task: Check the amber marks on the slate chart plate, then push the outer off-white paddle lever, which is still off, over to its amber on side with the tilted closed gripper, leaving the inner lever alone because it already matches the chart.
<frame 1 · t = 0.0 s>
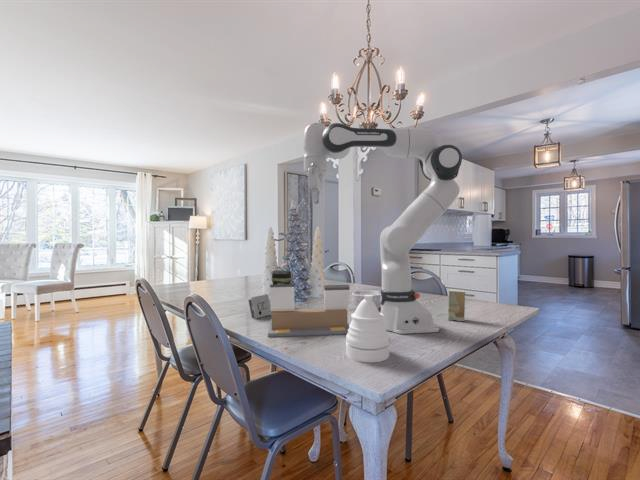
hand: (315, 202, 128), 48 cm above the table, tool pointing down, fingers open, 8 cm apart
electrical switch: (259, 316, 145), on the table
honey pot: (367, 354, 99), on the table
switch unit: (309, 329, 125), on the table
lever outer: (282, 297, 125), point 12 cm above the table, hinge at -20.0°
coffee jar: (282, 308, 160), on the table
skincare box: (456, 320, 136), on the table
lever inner: (336, 297, 123), point 12 cm above the table, hinge at 20.0°
clear glass bowl: (367, 309, 157), on the table
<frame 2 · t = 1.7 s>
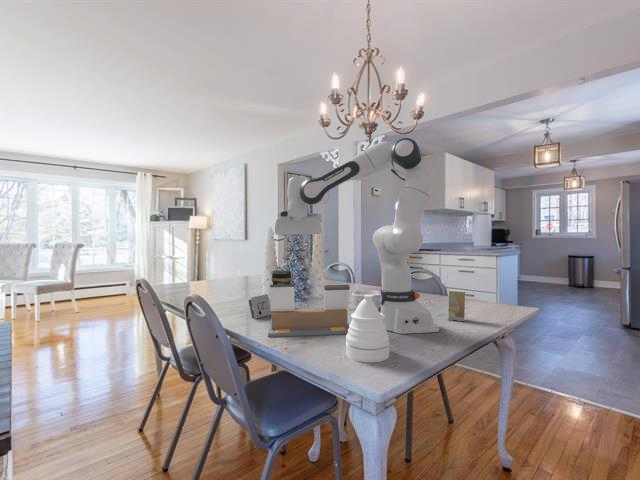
hand: (298, 244, 145), 31 cm above the table, tool pointing down, fingers open, 3 cm apart
nothing on the table moved.
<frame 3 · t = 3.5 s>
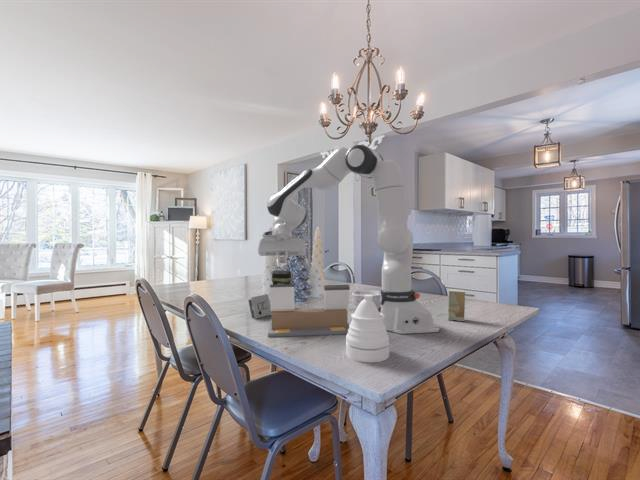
hand: (282, 261, 138), 24 cm above the table, tool tilted 45°, fingers closed
nothing on the table moved.
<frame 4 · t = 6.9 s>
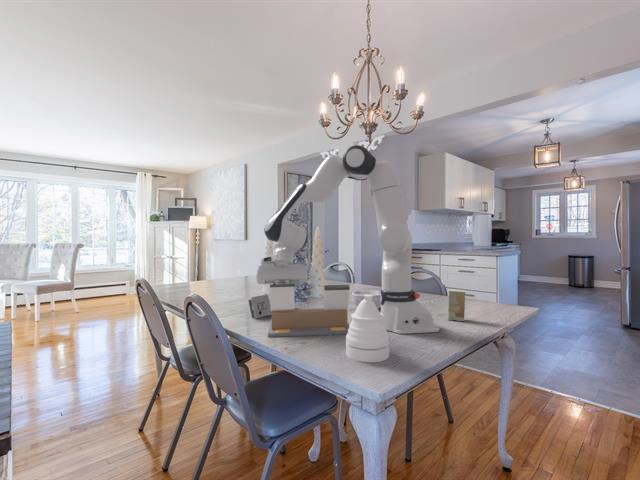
hand: (282, 291, 127), 14 cm above the table, tool tilted 45°, fingers closed, pressing on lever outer
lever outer: (282, 297, 125), point 12 cm above the table, hinge at -18.9°, touching gripper
everything else where it was.
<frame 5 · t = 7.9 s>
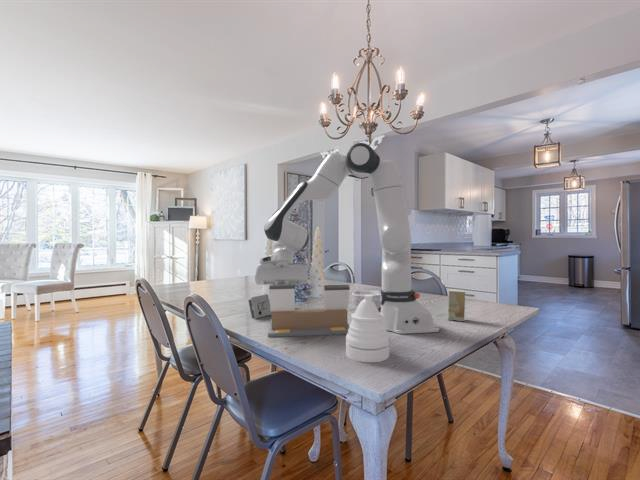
hand: (281, 292, 123), 14 cm above the table, tool tilted 45°, fingers closed, pressing on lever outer
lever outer: (282, 297, 122), point 12 cm above the table, hinge at 8.6°, touching gripper
everything else where it was.
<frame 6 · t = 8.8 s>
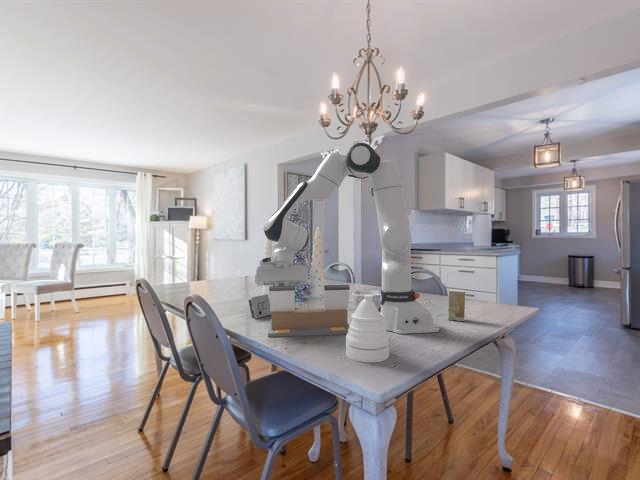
hand: (281, 293, 122), 14 cm above the table, tool tilted 45°, fingers closed, pressing on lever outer
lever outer: (282, 298, 122), point 12 cm above the table, hinge at 16.7°, touching gripper
everything else where it was.
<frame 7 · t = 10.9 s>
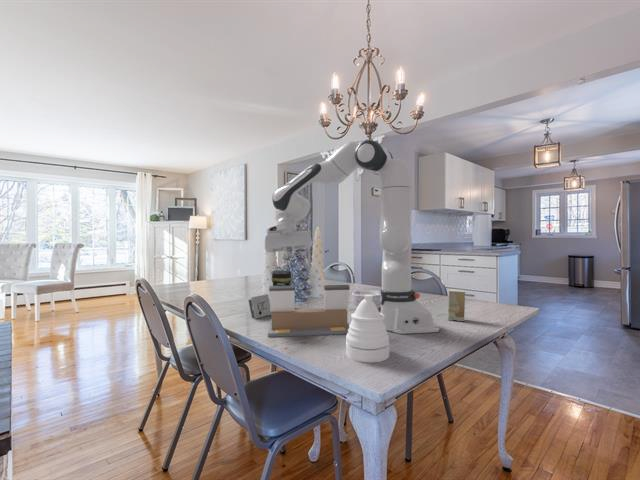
hand: (290, 257, 139), 26 cm above the table, tool tilted 35°, fingers closed
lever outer: (282, 298, 122), point 12 cm above the table, hinge at 16.9°
everything else where it was.
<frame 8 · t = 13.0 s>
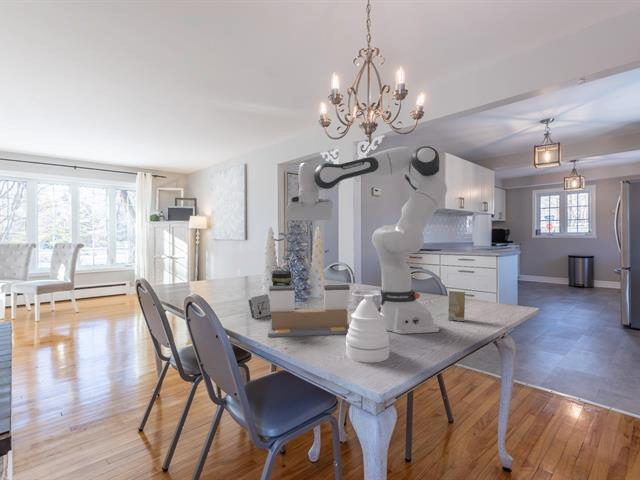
hand: (309, 231, 144), 37 cm above the table, tool pointing down, fingers closed
nothing on the table moved.
at the end: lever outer at +17° (first picture: -20°); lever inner at +20° (first picture: +20°) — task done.
